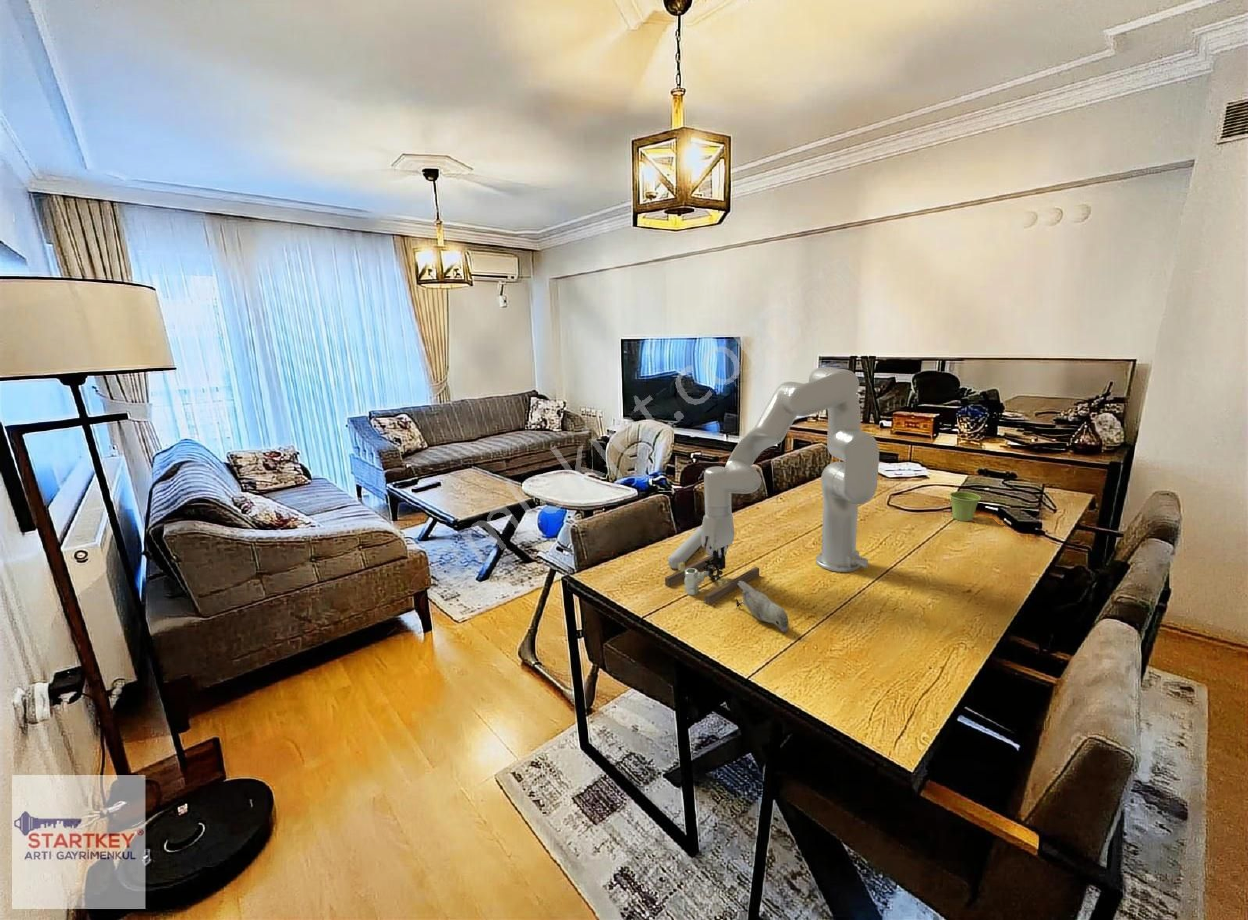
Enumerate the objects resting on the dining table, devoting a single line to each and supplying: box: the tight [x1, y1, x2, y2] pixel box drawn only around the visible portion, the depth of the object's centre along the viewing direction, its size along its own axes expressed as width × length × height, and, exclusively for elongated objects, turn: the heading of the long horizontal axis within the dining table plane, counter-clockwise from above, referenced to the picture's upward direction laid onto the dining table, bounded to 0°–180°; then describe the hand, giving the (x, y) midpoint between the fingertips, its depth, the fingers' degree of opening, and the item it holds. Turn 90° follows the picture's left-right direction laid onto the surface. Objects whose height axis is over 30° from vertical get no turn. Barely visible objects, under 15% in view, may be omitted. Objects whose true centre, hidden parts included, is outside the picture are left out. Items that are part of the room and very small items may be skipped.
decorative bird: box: [735, 581, 789, 634], centre depth 129 cm, size 5×16×7 cm, turn 30°
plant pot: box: [949, 491, 982, 522], centre depth 184 cm, size 9×9×9 cm
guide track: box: [664, 555, 760, 606], centre depth 151 cm, size 16×23×5 cm
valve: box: [683, 559, 724, 596], centre depth 147 cm, size 7×7×12 cm
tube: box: [667, 526, 702, 570], centre depth 169 cm, size 5×5×25 cm
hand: (719, 567), depth 152 cm, fingers closed
